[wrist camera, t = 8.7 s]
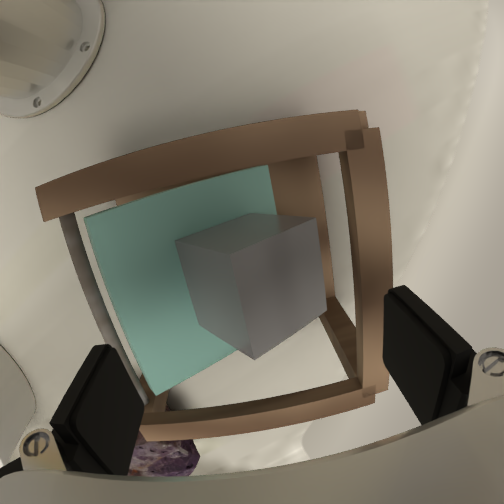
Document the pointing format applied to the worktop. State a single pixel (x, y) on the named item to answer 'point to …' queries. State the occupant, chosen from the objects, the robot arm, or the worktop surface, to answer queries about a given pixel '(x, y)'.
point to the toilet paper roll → (13, 405)
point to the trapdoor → (169, 268)
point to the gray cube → (255, 279)
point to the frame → (287, 203)
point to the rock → (163, 457)
